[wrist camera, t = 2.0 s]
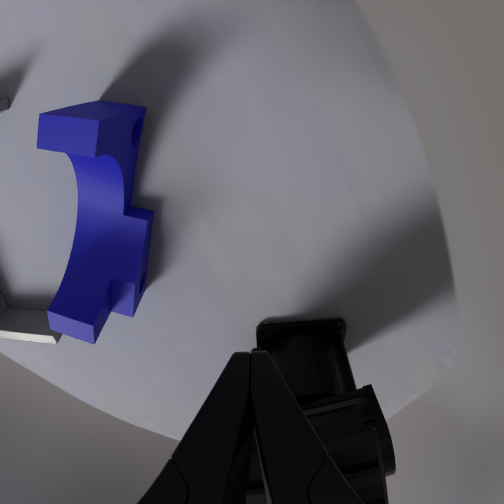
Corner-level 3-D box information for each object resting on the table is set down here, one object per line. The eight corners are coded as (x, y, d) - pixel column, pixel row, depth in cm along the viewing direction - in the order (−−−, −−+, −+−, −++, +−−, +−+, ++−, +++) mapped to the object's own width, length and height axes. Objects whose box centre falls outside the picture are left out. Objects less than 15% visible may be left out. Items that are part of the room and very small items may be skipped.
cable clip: (145, 289, 22) (118, 351, 16) (87, 273, 21) (50, 329, 16) (172, 111, 16) (134, 126, 11) (99, 100, 15) (39, 113, 10)
